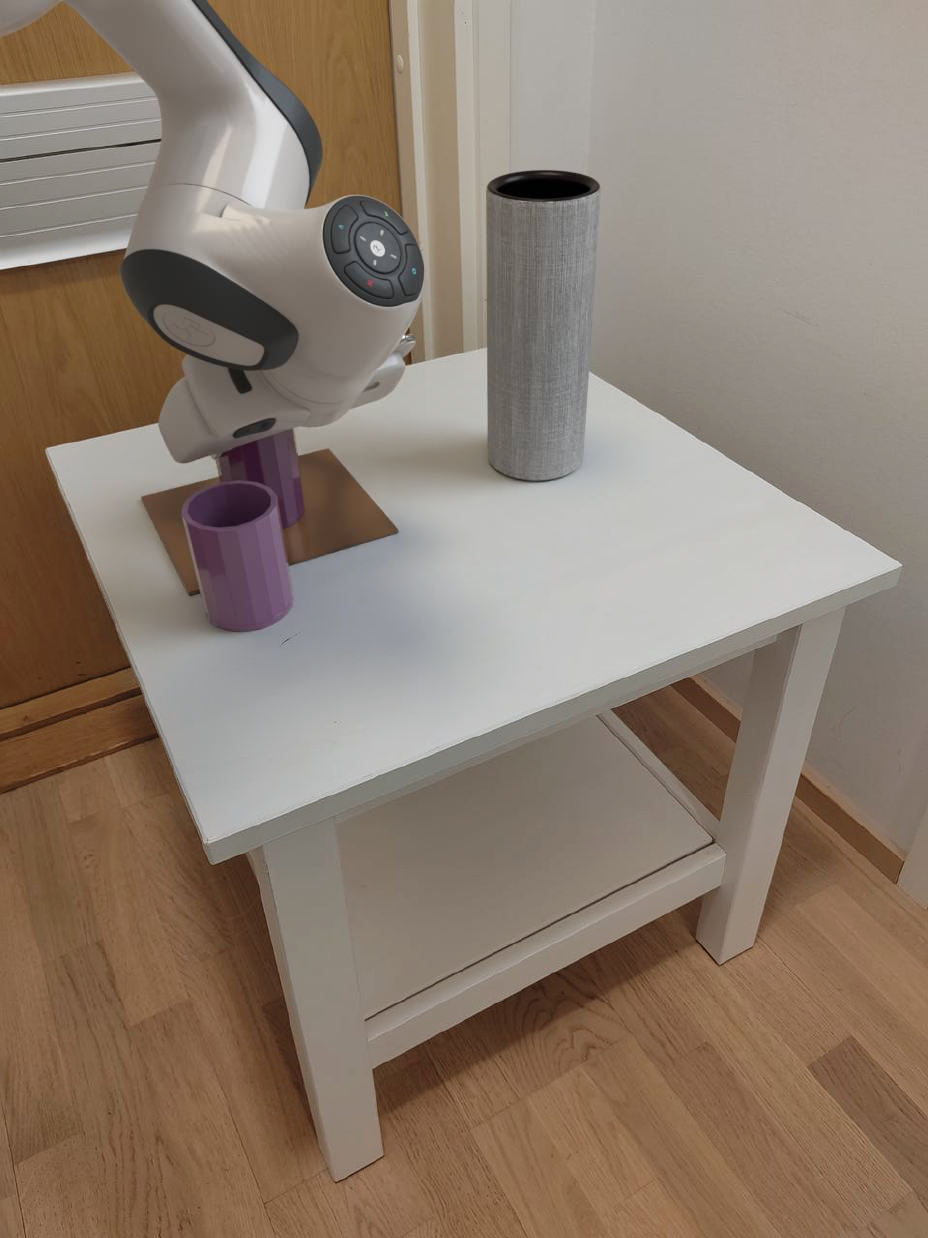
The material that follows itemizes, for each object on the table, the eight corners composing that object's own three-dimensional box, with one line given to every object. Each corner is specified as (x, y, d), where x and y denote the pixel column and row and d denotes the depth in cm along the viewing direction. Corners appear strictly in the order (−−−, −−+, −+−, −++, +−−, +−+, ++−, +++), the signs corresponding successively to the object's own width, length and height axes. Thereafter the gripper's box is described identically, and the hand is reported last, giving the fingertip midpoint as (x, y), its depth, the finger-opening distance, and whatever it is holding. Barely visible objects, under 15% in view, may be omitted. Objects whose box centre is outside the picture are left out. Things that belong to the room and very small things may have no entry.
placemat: (189, 595, 83) (188, 592, 82) (141, 499, 95) (140, 496, 95) (398, 532, 90) (398, 529, 89) (328, 451, 102) (328, 447, 102)
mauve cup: (190, 624, 80) (164, 523, 73) (230, 573, 85) (208, 475, 79) (271, 637, 78) (252, 536, 72) (306, 585, 84) (291, 486, 77)
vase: (547, 427, 105) (557, 163, 89) (602, 465, 99) (624, 187, 82) (470, 451, 102) (465, 180, 85) (521, 492, 95) (527, 207, 78)
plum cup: (214, 527, 90) (193, 432, 84) (248, 487, 96) (231, 395, 90) (286, 538, 89) (270, 441, 82) (317, 497, 94) (304, 404, 88)
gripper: (405, 293, 76) (352, 369, 88) (161, 360, 67) (140, 434, 79) (439, 365, 76) (381, 430, 88) (200, 442, 67) (173, 503, 79)
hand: (266, 433), depth 83 cm, fingers open, 8 cm apart
